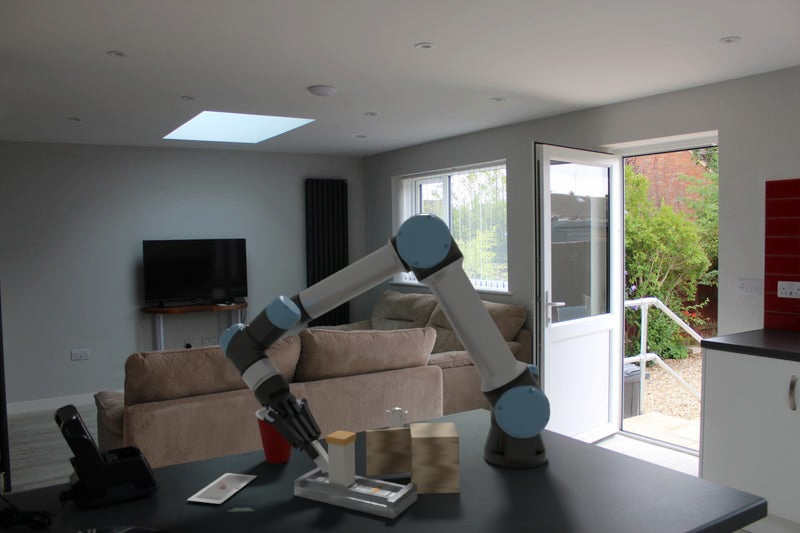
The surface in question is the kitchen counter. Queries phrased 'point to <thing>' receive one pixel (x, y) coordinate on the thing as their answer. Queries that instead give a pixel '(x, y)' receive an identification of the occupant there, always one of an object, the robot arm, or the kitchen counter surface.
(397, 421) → the sitting furry creature
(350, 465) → the fader knob
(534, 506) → the kitchen counter surface
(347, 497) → the fader track
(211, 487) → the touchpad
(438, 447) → the wooden cabinet
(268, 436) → the plastic cup
